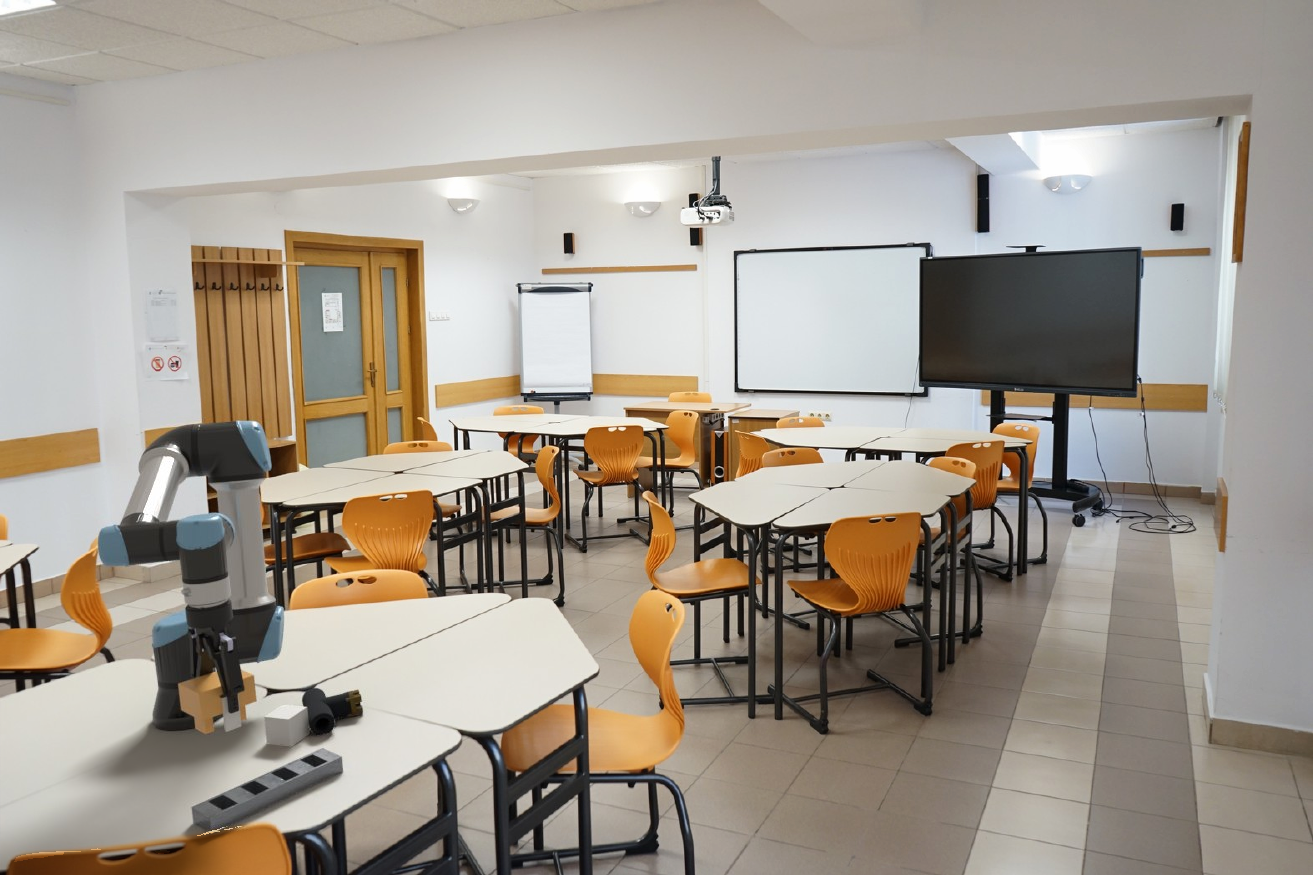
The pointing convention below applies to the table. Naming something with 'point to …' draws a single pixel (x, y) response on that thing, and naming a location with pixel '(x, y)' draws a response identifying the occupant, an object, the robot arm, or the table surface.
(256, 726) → the table surface
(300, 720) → the white cube
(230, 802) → the rail
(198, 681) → the tan notched block
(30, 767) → the table surface
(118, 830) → the table surface
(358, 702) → the pipe connector
